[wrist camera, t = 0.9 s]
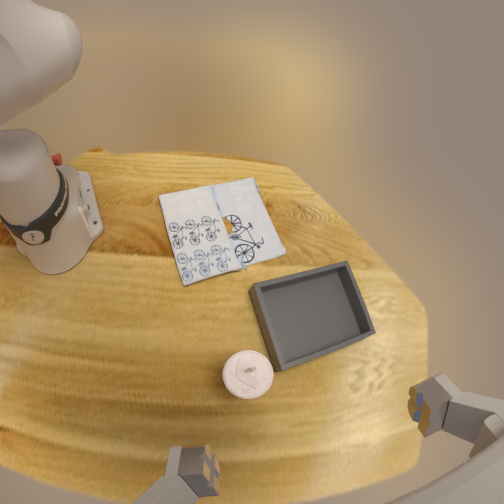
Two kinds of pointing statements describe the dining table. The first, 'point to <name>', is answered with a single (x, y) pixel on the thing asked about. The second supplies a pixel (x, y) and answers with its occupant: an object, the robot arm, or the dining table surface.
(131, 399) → the dining table surface
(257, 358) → the smoothie
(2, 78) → the robot arm
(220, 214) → the folded bicycle print cloth
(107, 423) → the dining table surface
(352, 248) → the dining table surface
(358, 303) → the tray
